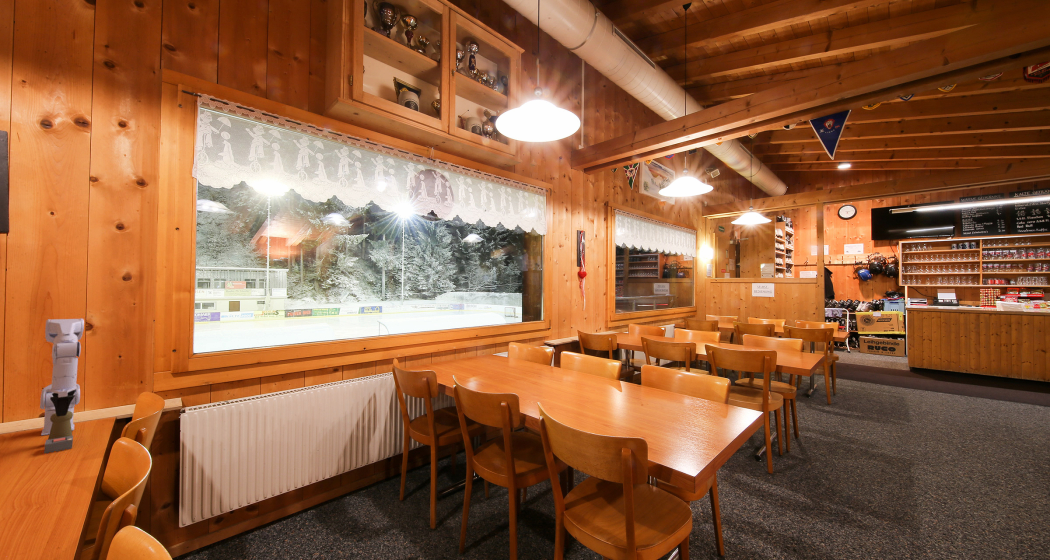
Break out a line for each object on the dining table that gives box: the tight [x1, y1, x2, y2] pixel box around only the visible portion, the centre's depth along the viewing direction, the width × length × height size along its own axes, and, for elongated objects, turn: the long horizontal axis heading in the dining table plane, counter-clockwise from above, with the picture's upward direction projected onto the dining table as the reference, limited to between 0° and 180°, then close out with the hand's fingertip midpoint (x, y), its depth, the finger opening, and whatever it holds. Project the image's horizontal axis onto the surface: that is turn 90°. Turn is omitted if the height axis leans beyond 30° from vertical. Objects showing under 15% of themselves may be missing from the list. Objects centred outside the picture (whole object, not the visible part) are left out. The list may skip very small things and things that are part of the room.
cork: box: [47, 411, 74, 440], centre depth 137 cm, size 6×6×11 cm
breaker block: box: [43, 435, 74, 455], centre depth 131 cm, size 6×6×3 cm
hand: (62, 413), depth 137 cm, fingers open, 7 cm apart
